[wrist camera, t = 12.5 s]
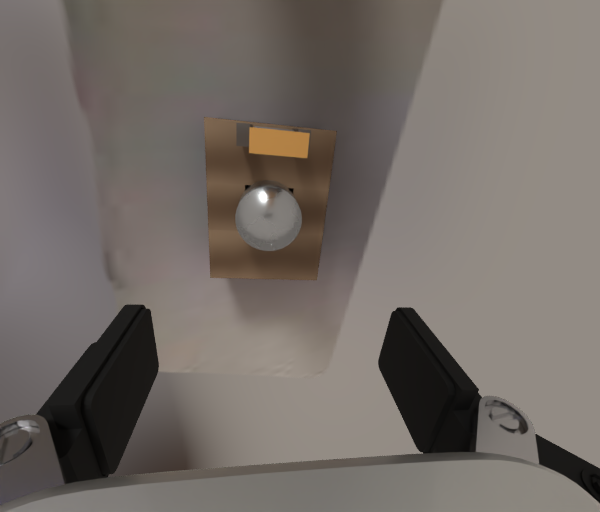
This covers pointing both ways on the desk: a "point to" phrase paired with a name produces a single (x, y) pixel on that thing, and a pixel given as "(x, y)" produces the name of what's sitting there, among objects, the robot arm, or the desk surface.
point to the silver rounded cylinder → (268, 216)
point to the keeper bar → (278, 142)
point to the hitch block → (253, 168)
